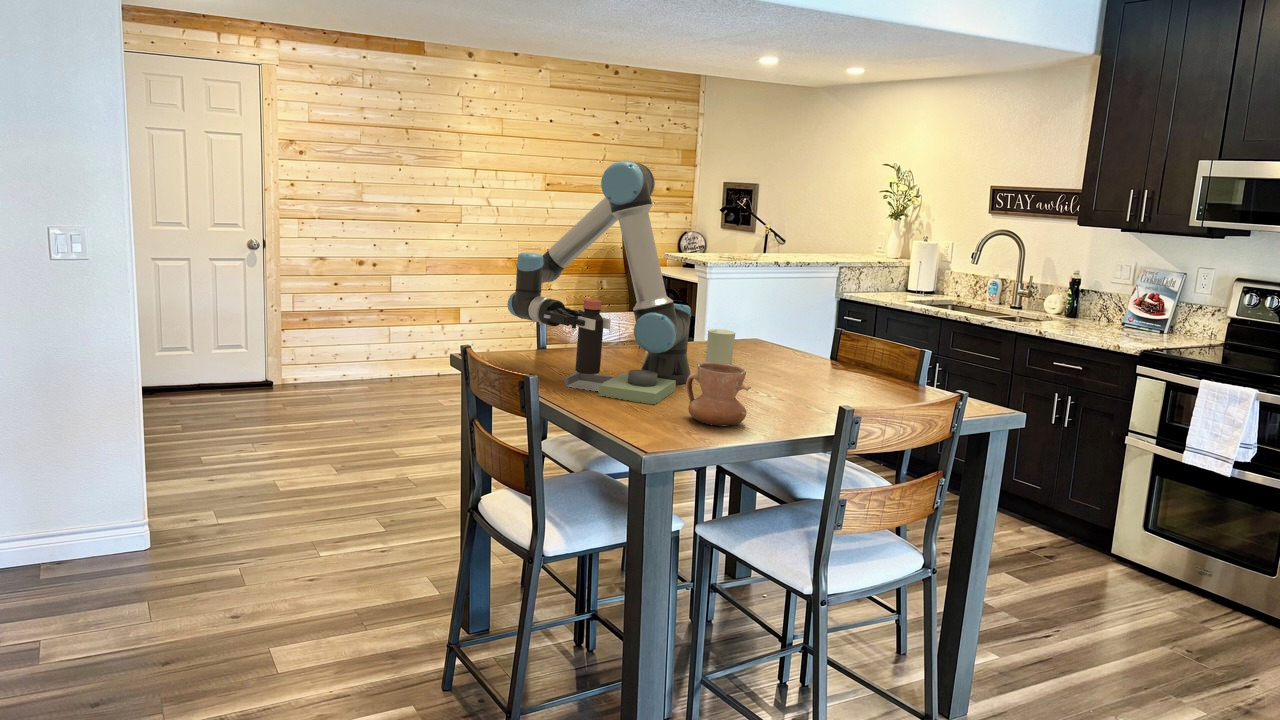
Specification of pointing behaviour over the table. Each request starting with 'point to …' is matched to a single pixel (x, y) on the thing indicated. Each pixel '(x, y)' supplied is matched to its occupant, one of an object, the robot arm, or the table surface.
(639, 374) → the green slab with knob
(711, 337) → the can
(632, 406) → the table surface
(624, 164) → the robot arm
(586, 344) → the vinegar
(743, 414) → the ceramic jug
